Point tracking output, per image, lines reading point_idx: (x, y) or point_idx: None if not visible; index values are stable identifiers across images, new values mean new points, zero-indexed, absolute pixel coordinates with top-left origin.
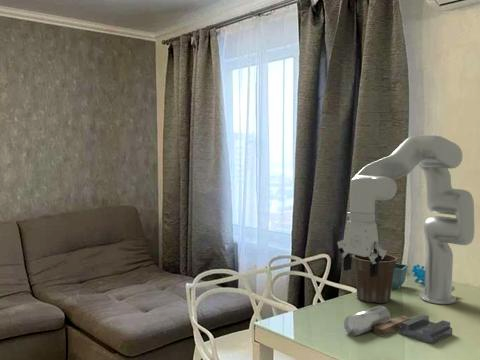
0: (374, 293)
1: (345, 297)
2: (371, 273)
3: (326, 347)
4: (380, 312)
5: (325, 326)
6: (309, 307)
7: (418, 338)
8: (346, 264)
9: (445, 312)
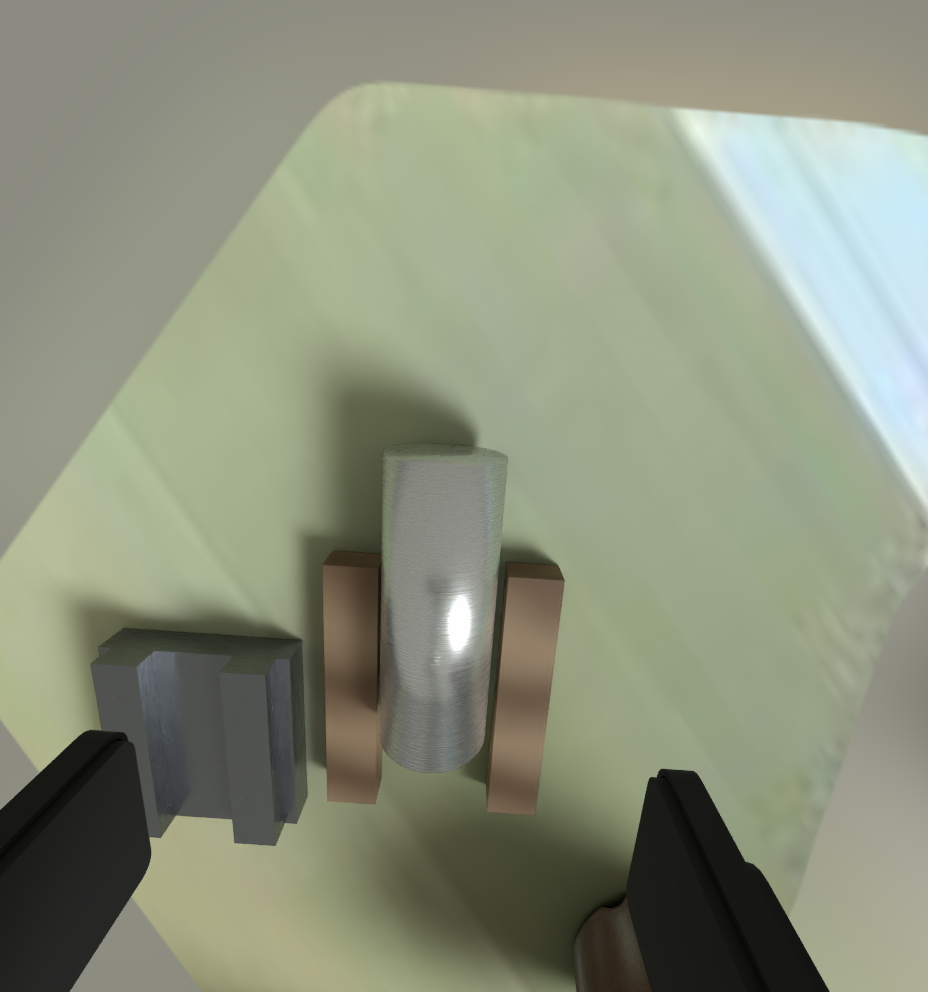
0: (629, 957)
1: (780, 883)
2: (41, 772)
3: (440, 160)
4: (391, 693)
5: (633, 448)
6: (873, 637)
7: (192, 636)
8: (693, 903)
9: (318, 980)
